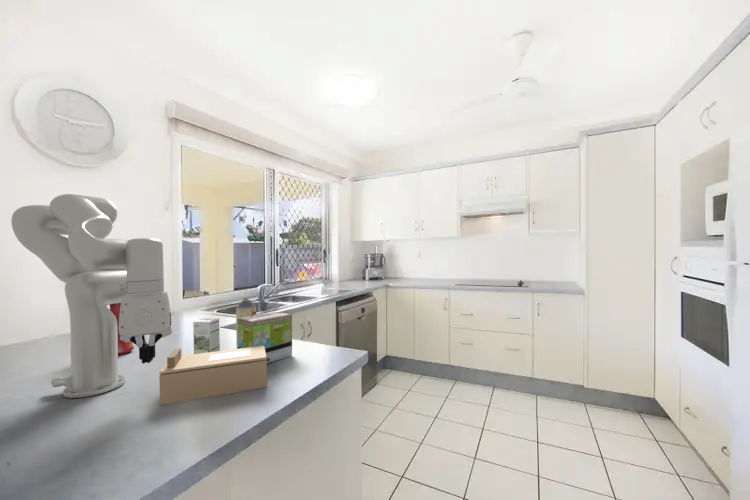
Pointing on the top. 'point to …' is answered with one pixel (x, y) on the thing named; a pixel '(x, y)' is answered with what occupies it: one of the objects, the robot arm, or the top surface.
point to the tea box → (267, 334)
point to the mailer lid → (211, 359)
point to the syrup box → (206, 335)
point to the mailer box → (212, 381)
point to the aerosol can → (244, 310)
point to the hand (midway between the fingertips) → (147, 361)
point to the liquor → (122, 345)
